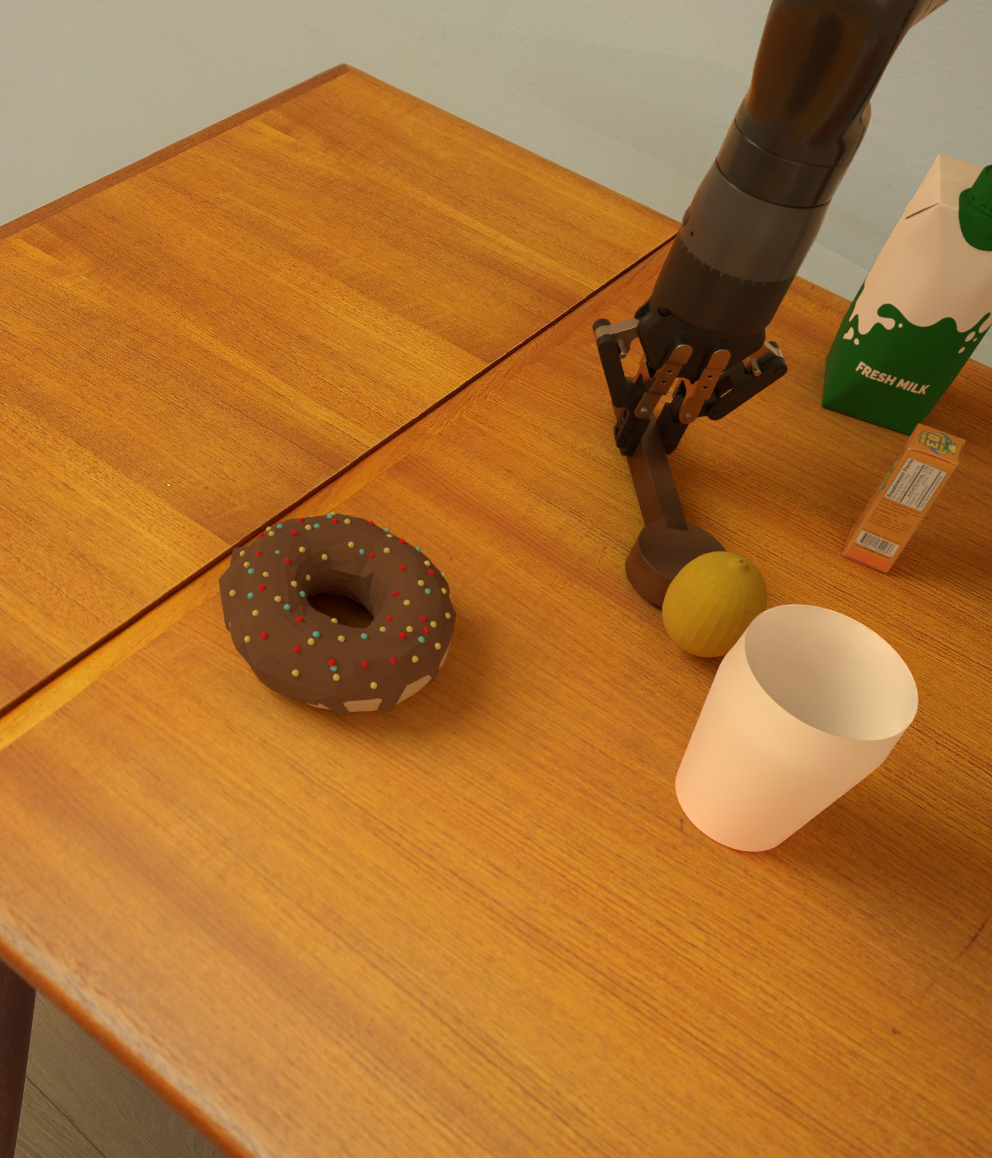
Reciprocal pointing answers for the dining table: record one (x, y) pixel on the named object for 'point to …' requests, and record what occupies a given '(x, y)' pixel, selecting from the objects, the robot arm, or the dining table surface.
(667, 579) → the wooden spoon
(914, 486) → the supplement box
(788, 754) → the cup
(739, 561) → the lemon
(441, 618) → the donut
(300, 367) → the dining table surface
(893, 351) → the milk carton
